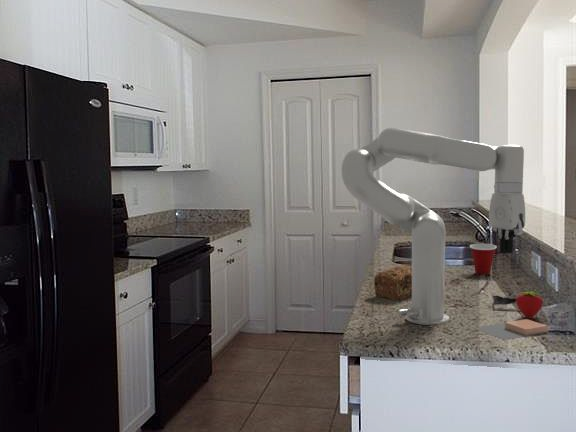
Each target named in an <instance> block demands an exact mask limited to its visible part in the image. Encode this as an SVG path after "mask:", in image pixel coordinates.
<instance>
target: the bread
mask: <svg viewBox="0 0 576 432" xmlns="http://www.w3.org/2000/svg"><path fill="white" fill-rule="evenodd" d="M373 281H374V283H373V285H374V287H373V290H374V293H375V294H374V295H375V296H376V297H379V298H381V299H383V298H385V299H388V300H391V301H392V300H393V301H397V300H398V301H400V300H405V299H408V298H412V297H411V296H412V264H404V265H403V264H402V265H400V266H399V265H398V266H395V267H393V268H389V269H386V270H383V271H380V272H378V273H376V274H375V276H374V279H373Z"/></svg>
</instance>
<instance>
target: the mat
mask: <svg viewBox="0 0 576 432" xmlns="http://www.w3.org/2000/svg"><path fill="white" fill-rule="evenodd" d="M472 329H474V330H477V331H479V332H482V333H485V334H487V335H490V336H493V337H496V338H498V339H500V340H503V341H505V340H506V341H507V340H512V339H513V340H514V339H517V338H523V337H529V336H530V337H531V336H536V335H543V334H547V333H550V332H549V331H547V332H541V333H535V334H529V335H524V334H521V333H518V332H515V331H512V330H509V329H506V328H505V322H504V323H498V324H491V325H486V326H479V327H473V328H472Z"/></svg>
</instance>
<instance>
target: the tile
mask: <svg viewBox="0 0 576 432" xmlns="http://www.w3.org/2000/svg"><path fill="white" fill-rule="evenodd" d="M504 323H505V328H506V329H509V330H512V331H515V332H518V333H521V334H524V335H529V334H535V333H541V332H549V331H548V329H549V328H548V325H547V324H543V323H540V322H536V321H534V320H530V319H529V318H527V319H526V318H525V319H520V320H513V321H507V322H504Z"/></svg>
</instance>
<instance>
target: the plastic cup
mask: <svg viewBox="0 0 576 432" xmlns="http://www.w3.org/2000/svg"><path fill="white" fill-rule="evenodd" d="M469 248H470V250H471V253H472V261H473V266H474V272H475V274H477V275H485V276H486V275H490V273H491V272H492V266H493V263H494V262H493V261H494V256H495V252H496V249H497V245H495V244H491V243H474V244H470V245H469Z"/></svg>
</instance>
